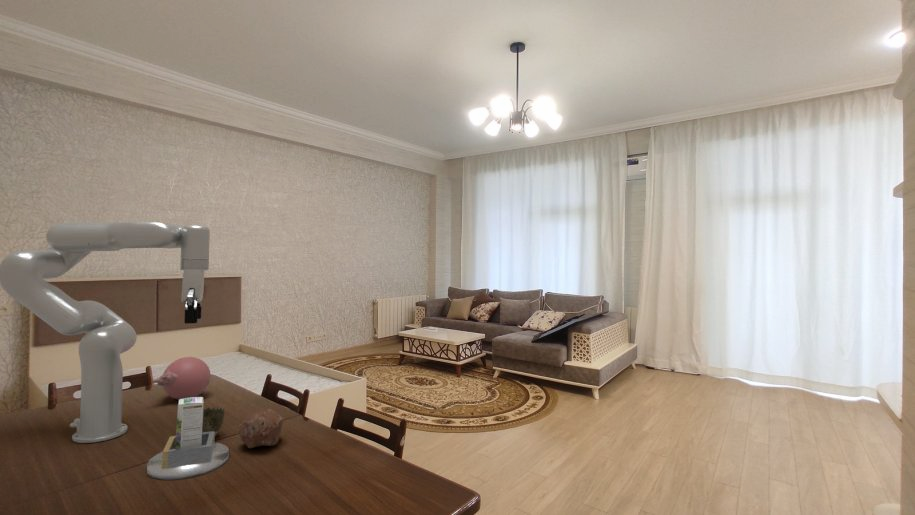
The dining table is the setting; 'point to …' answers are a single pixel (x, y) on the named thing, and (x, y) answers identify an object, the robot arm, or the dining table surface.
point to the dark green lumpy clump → (212, 419)
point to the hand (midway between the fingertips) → (193, 320)
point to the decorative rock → (261, 429)
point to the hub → (188, 459)
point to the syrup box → (189, 422)
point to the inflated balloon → (185, 378)
